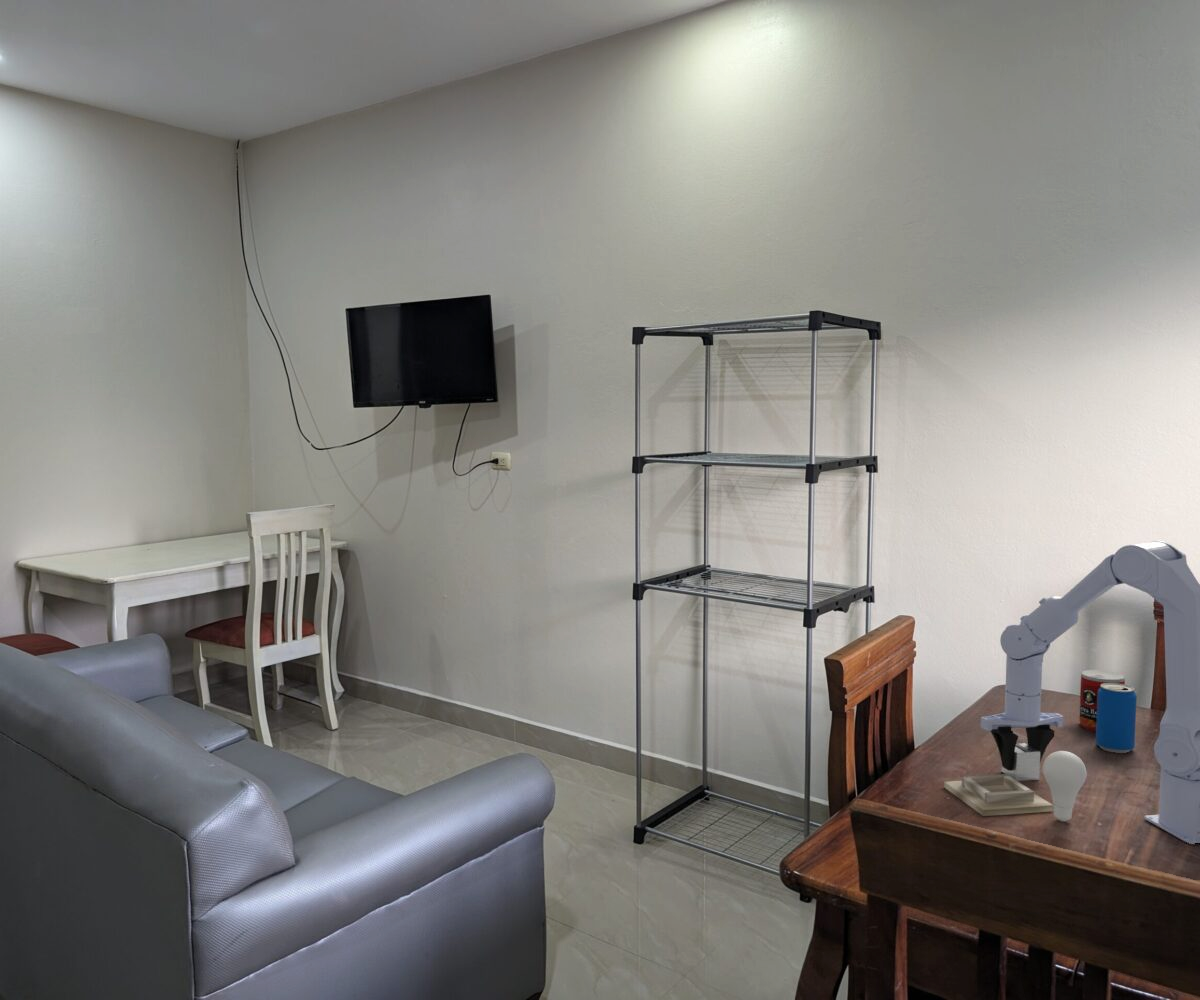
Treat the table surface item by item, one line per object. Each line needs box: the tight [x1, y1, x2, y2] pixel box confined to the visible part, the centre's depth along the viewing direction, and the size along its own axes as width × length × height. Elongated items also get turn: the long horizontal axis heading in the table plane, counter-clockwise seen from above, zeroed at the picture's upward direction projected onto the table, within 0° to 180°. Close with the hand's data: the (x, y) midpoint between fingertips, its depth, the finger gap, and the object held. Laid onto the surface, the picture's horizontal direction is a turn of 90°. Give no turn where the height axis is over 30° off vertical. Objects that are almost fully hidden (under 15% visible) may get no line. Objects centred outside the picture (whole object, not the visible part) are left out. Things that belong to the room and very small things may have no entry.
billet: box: [1001, 742, 1041, 782], centre depth 166 cm, size 4×4×5 cm
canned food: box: [1078, 669, 1126, 732], centre depth 192 cm, size 8×8×11 cm
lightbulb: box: [1042, 750, 1087, 822], centre depth 147 cm, size 6×6×11 cm
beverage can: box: [1095, 683, 1138, 754], centre depth 179 cm, size 6×6×12 cm
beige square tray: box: [943, 773, 1054, 817], centre depth 156 cm, size 12×12×2 cm
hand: (1020, 767), depth 166 cm, fingers closed on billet, 4 cm apart
